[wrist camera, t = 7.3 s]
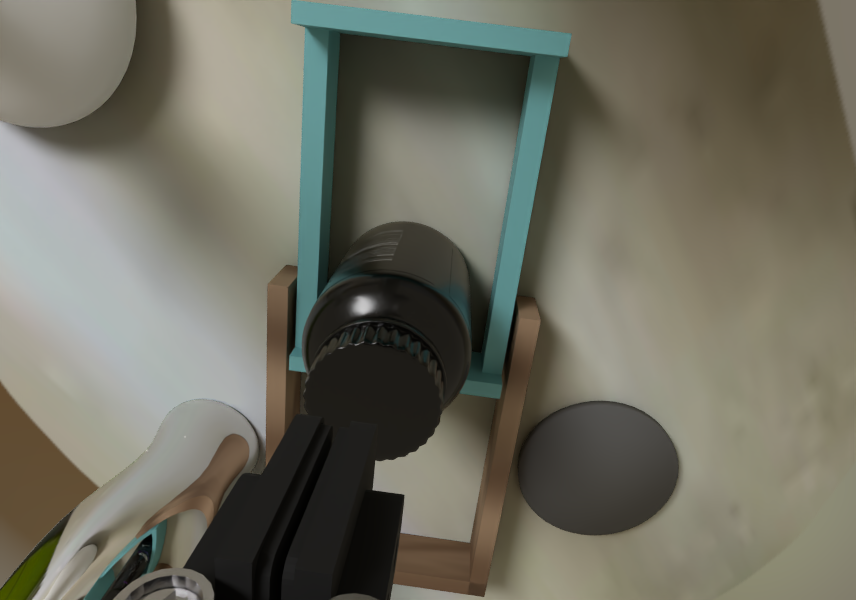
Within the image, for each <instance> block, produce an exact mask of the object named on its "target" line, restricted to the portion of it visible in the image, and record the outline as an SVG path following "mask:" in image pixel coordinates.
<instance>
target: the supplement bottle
mask: <svg viewBox="0 0 856 600" xmlns="http://www.w3.org/2000/svg"><path fill="white" fill-rule="evenodd" d="M471 356H472V328H471V289H470V278H469V273H468V269H467V266H466V263H465V261H464V258H463V256H462V255H461V253H460V251H459V250H458V249H457V247H456V246H455V245H454V244H453V243H452V242H451V241H450V240H449V239H448V238H447V237H446V236H444V235H443V234H442V233H440V232H439V231H437V230H435V229H433V228H431V227H428V226H426V225H423V224H419V223H414V222H391V223H386V224H383V225H380V226H377V227H375V228H373V229H371V230H369V231H368V232H366V233H365V234H363V235H362V236H361V237H360V238H359V239H358V240H357V241H356V242H355V243H354V244H353V245H352V246H351V248H350V249H349V250H348V252H347V253H346V255H345V256H344V258H343V259H342V261H341V263H340V264H339V266H338V267H337V269H336V271H335V272H334V274H333V275H332V277H331V279H330V280H329V282H328V283H327V285H326V286H325V288H324V290H323V291H322V293H321V294H320V296H319V298H318V299H317V301H316V303H315V304H314V306H313V308H312V309H311V311H310V314H309V316H308V318H307V320H306V323H305V326H304V330H303V335H302V358H303V363H304V367H305V370H306V373H307V375H308V376H307V378H306V380H305V390H304V393H303V396H304V399H305V404H304V407H305V409H306V411H307V412H308V415H310V416H318V417H323V418H324V421H325V425H331V426H333V440H332V444H333V442H334V440H335V437H336V435H337V432H338V430H339V428H340V427H346V428H349V425H350V423H351V421H355V422H362V423H370V424H377V425H378V435H377V446H376V457H375V460H377V461H383V460H386V459H388V460H394V459H396V458H397V457H404V456H406V455H408V453H410V452H414V451H417V449H418V448H419V446H422V445H424V444H426V442H427V440H428V438H429V437H431V436H432V435H433V434H434V431H435V428H436V427H437V426H438V425H439V423H440V415H441V414H442V411H443V410H444V409H445V408H446V407H447V406H449V405H450V404H451V402H452V401H453V400H454V399H455V398H456V397H457V395H458V394H459V393H460V391H461V389H462V388H463V386H464V384H465V382H466V379H467V377H468V374H469V370H470V365H471Z"/></svg>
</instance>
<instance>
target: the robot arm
mask: <svg viewBox="0 0 856 600" xmlns="http://www.w3.org/2000/svg"><path fill="white" fill-rule="evenodd" d="M377 435H378V425H377V424H370V423H362V422H355V421H351V423H350V425H349V428H346V427H340V428H339V430H338V432H337V435H336V437H335V440H334V442H333V444H332V440H333V426H331V425H325V421H324V418H323V417H318V416H310V415H303V414H296V415H295V417H294V418H293V420H292V422H291V424H290V425H289V427H288V429H287V431H286V432H285V434H284V436H283V438H282V440H281V441H280V443H279V445H278V447H277V448H276V450H275V452H274V454H273V455H272V457H271V459H270V461H269V462H268V464H267V466H266V468H265V469H264V471H263V473H262V475H259V474H251V473H244V474H242V475H241V476H240V477H239V479H238V480H237V482H236V483H235V485H234V487H233V488H232V490H231V491H230V493H229V495H228V496H227V498H226V499H225V501H224V503H223V504H222V506H221V507H220V509H219V511H218V512H217V514H216V515H215V517H214V519H213V520H212V522H211V524H210V525H209V527H208V528H207V530H206V532H205V533H204V535H203V536H202V538H201V540H200V541H199V543H198V544H197V546H196V548H195V549H194V551H193V552H192V554H191V556H190V557H189V559H188V560H187V562H186V564H185V565H184V567H183V568H169V569H161V570H158V571H155V572H151V573H148V574H146V575H144V576H142V577H140V578H138V579H136V580H135V581H133V582H131V583H130V584H129V585H128V586H127V587H125V588H124V589H123V590H122V591H121V592H120V593H119V594H118V595H117V596H116V597H115V598H114V599H113V600H390V597H391V591H392V585H393V579H394V573H395V567H396V560H397V554H398V546H399V539H400V531H401V523H402V514H403V506H404V495H402V494H395V493H388V492H381V491H373V490H372V489H373V478H374V468H375V457H376V446H377Z"/></svg>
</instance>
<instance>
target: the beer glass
mask: <svg viewBox="0 0 856 600" xmlns="http://www.w3.org/2000/svg"><path fill="white" fill-rule="evenodd" d="M258 455H259V443H258V438H257V435H256V433H255V431H254V429H253V427H252V426H251V424H250V423H249V422H248V421H247V419H246V418H245V417H244V416H243V415H241V414H240V413H239V412H238V411H236V410H235V409H233V408H231V407H230V406H228V405H225V404H223V403H220V402H217V401H213V400H206V399H197V400H190V401H186V402H183V403H181V404H179V405H177V406H176V407H174V408H173V409H172V410H171V411H169V413H168V414H167V415H166V417H165V418H164V420H163V421H162V423H161V425H160V427H159V429H158V431H157V433H156V435H155V438H154V439H153V441H152V443H151V444H150V446H149V447H148V448H147V449H146V450H145V451H144V452H143V453H142V454H141V455H140V456H139V457H138V458H137V459H136V460H135V461H134V462H133V463H131V464H130V465H129V466H128V467H126V468H125V469H124V470H123V471H121V472H120V473H119V474H117V475H116V476H115V477H113V478H112V479H111V480H109V481H108V482H107V483H105V484H104V485H103V486H102V487H100V488H99V489H98V490H96V491H95V492H94V493H93V494H91V495H90V496H89V497H88V498H86V499H85V500H84V501H82V502H81V503H80V504H79V505H78V506H77V507H75V509H73V510H72V511H71V512H70V513H69V514H67V515H66V516H65V517H64V518H63V519H62V520H60V521H59V523H58V524H57V525H56V526H55V527H54V528H53V529H52V530H51V531H50V532H49V533H48V534H47V535H46V536H45V537H44V538H43V539H42V540H41V541H40V542H39V543H38V544H37V545H36V547H34V549H33V550H32V551H31V552H30V553H29V555H28V556H27V557H26V558H25V559H24V560H23V562H22V563H21V564H20V565H19V566H18V567H17V568H16V570H15V571H14V572H13V573H12V575H11V576H10V577H9V578H8V580H7V581H6V582H5V583H4V585H3V586H2V587H1V588H0V600H113V599H114V598H115V597H116V596H117V595H118V594H119V593H120V592H121V591H122V590H123V589H124V588H125V587H127V586H128V585H129V584H130V583H131V582H133V581H135V580H136V579H138V578H140V577H142V576H144V575H146V574H148V573H151V572H155V571H158V570H161V569H169V568H183V567H184V565H185V564H186V562H187V560H188V559H189V557H190V556H191V554H192V552H193V551H194V549H195V548H196V546H197V544H198V543H199V541H200V540H201V538H202V536H203V535H204V533H205V532H206V530H207V528H208V527H209V525H210V524H211V522H212V520H213V519H214V517H215V515H216V514H217V512H218V511H219V509H220V507H221V506H222V504H223V503H224V501H225V499H226V498H227V496H228V495H229V493H230V491H231V490H232V488H233V487H234V485H235V483H236V482H237V480H238V479H239V477H240V476H241V475H242V474H244V473H250V472H251V471H252V470H253V468H254V466H255V465H256V462H257V459H258Z"/></svg>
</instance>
